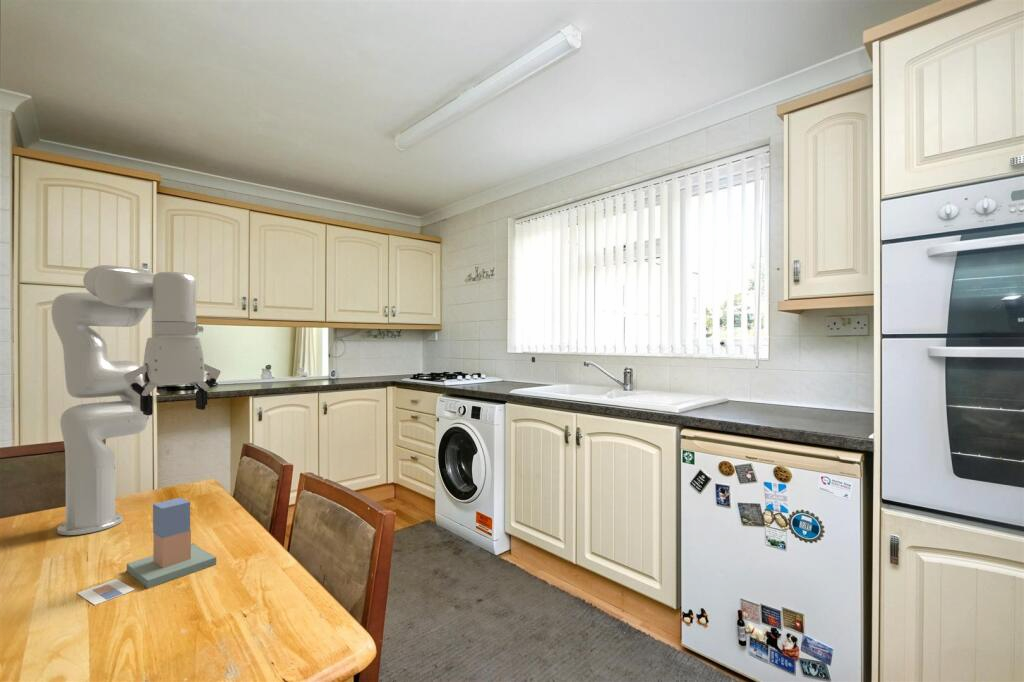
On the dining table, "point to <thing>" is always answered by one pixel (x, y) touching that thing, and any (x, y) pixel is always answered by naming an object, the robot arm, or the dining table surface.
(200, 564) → the baseplate
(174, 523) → the brick
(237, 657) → the dining table surface
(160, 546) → the brick
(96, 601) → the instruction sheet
